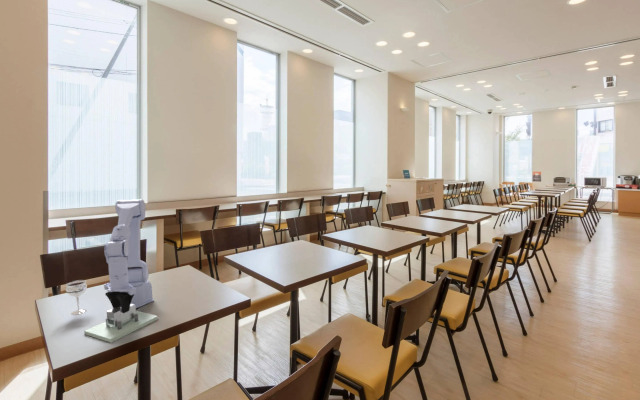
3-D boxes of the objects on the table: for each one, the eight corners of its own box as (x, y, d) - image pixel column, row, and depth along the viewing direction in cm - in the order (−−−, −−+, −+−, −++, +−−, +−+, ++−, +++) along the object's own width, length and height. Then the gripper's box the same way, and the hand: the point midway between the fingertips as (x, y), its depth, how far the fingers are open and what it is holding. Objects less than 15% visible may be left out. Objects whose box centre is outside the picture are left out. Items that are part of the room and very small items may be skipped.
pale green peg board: (132, 312, 130) (132, 303, 129) (157, 319, 124) (157, 309, 124) (84, 334, 113) (83, 323, 113) (110, 342, 108) (109, 331, 107)
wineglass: (82, 315, 128) (79, 285, 127) (63, 316, 128) (61, 286, 126) (92, 308, 135) (90, 279, 134) (75, 308, 134) (72, 280, 133)
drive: (128, 315, 123) (127, 302, 122) (136, 317, 121) (135, 304, 121) (107, 325, 116) (106, 311, 115) (114, 327, 114) (113, 313, 113)
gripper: (94, 275, 116) (97, 312, 117) (121, 280, 110) (124, 319, 112) (113, 269, 123) (116, 304, 124) (140, 274, 117) (143, 310, 118)
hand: (121, 310), depth 118 cm, fingers closed on drive, 4 cm apart
